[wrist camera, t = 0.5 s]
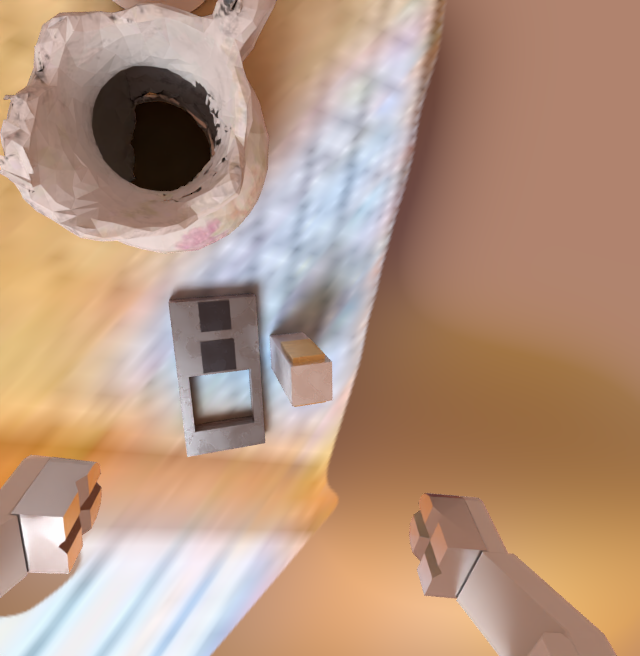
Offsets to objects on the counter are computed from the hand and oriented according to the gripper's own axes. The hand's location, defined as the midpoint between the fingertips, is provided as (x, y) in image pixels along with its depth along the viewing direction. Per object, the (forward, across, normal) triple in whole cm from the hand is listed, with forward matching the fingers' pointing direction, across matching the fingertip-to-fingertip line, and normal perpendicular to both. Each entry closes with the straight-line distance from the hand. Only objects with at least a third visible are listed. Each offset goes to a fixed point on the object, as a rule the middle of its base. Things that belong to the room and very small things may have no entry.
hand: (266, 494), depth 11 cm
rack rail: (+39, +5, +22) cm, 45 cm away
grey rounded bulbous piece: (+44, +14, -3) cm, 46 cm away
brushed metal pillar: (+41, -3, +19) cm, 46 cm away
